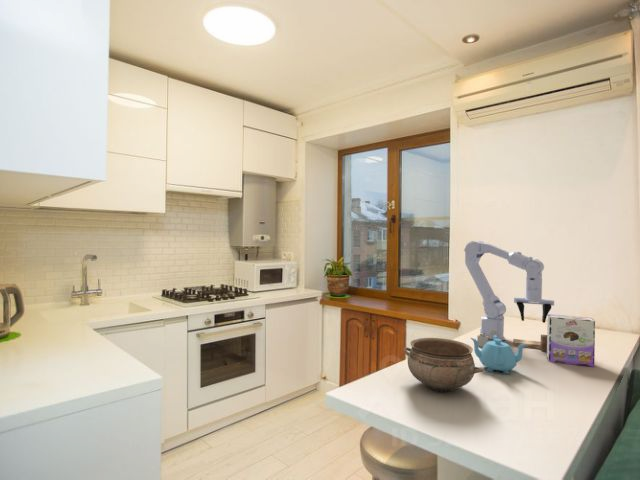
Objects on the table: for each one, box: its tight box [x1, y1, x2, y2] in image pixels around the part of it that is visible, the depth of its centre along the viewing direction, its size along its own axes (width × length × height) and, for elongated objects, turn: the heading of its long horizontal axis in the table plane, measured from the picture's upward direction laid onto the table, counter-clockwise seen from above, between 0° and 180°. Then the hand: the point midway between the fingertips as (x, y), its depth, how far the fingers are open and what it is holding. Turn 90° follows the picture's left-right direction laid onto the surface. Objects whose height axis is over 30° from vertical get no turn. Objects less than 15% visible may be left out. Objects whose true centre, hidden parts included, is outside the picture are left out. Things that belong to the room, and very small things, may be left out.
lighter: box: [476, 329, 497, 348], centre depth 152 cm, size 7×2×8 cm, turn 46°
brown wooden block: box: [539, 334, 547, 353], centre depth 151 cm, size 4×8×6 cm, turn 160°
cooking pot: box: [402, 337, 485, 393], centre depth 111 cm, size 25×19×12 cm
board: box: [513, 338, 541, 350], centre depth 154 cm, size 15×6×2 cm, turn 69°
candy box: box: [546, 313, 596, 368], centre depth 135 cm, size 14×6×16 cm, turn 65°
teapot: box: [470, 334, 527, 375], centre depth 127 cm, size 13×13×10 cm
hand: (533, 321), depth 156 cm, fingers open, 7 cm apart
